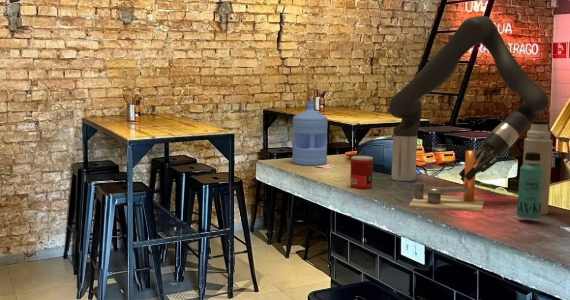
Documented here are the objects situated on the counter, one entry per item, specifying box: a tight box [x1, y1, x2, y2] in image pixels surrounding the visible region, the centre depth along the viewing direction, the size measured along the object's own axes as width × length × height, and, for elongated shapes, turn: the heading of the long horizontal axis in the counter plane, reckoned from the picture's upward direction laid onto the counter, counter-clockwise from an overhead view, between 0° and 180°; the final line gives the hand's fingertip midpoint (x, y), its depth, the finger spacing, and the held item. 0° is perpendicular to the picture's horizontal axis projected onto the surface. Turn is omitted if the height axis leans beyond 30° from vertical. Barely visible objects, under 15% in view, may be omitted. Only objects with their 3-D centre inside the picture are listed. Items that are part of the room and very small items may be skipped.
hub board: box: [408, 182, 485, 213], centre depth 209 cm, size 18×22×6 cm
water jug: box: [291, 100, 329, 167], centre depth 290 cm, size 16×16×28 cm
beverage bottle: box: [516, 152, 544, 220], centre depth 184 cm, size 6×7×20 cm
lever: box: [424, 149, 478, 201], centre depth 208 cm, size 17×6×16 cm, turn 101°
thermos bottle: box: [522, 120, 553, 216], centre depth 196 cm, size 8×8×28 cm
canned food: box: [349, 155, 374, 190], centre depth 235 cm, size 8×8×11 cm
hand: (464, 177), depth 209 cm, fingers closed on lever, 3 cm apart
